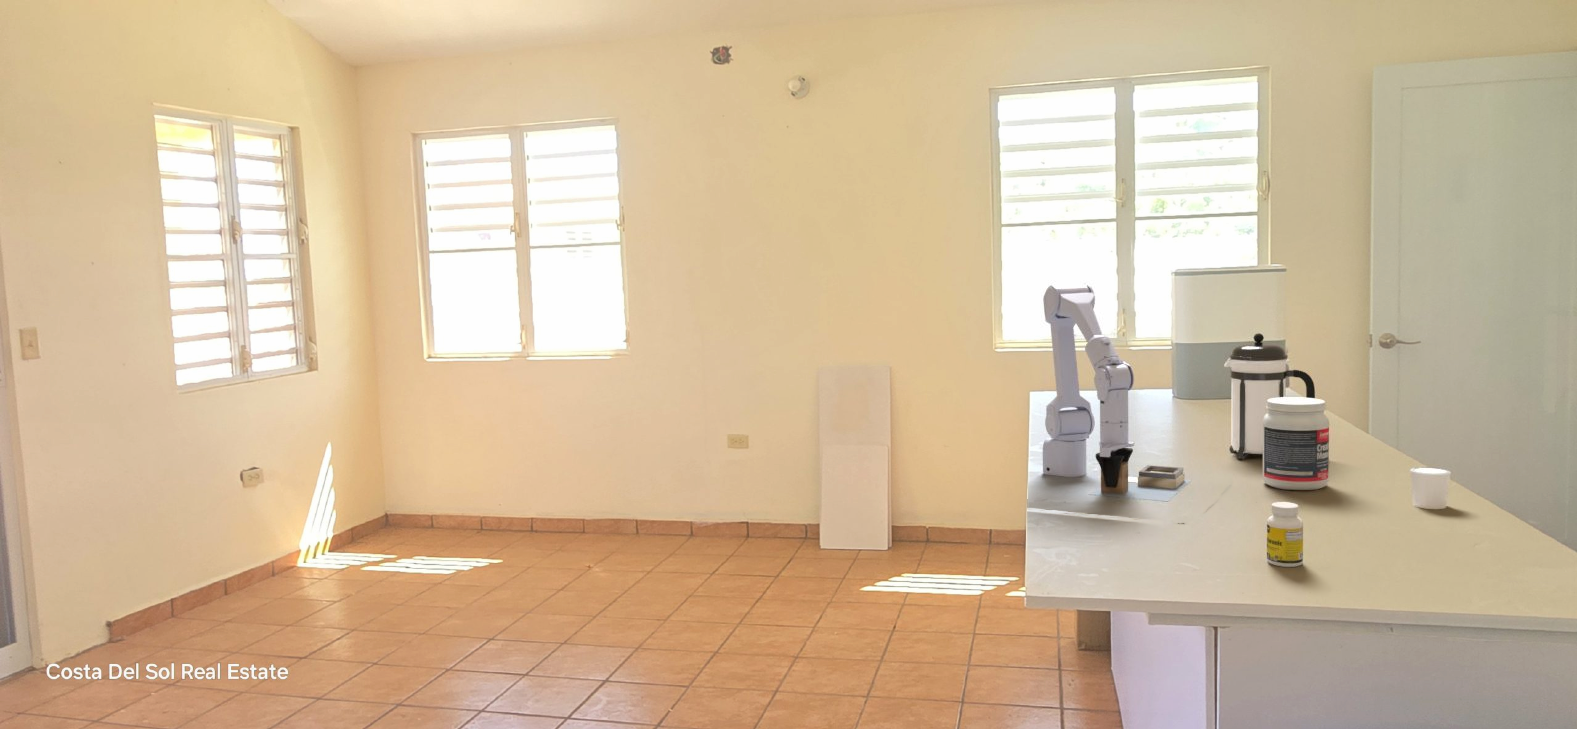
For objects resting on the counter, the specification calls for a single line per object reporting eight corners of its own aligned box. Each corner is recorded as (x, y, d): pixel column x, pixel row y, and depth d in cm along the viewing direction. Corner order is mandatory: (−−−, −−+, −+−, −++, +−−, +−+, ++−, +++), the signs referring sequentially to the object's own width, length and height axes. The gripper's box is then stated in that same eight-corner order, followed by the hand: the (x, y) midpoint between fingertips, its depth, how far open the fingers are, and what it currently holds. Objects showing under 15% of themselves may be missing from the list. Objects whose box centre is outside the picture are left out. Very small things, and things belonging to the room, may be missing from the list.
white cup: (1445, 502, 211) (1446, 467, 210) (1454, 510, 205) (1455, 474, 204) (1405, 500, 213) (1406, 466, 213) (1413, 509, 207) (1414, 473, 206)
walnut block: (1100, 492, 227) (1100, 464, 226) (1107, 488, 231) (1106, 460, 230) (1122, 494, 225) (1122, 466, 224) (1128, 489, 228) (1128, 462, 228)
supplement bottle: (1260, 559, 179) (1260, 501, 178) (1291, 557, 179) (1292, 499, 178) (1277, 568, 174) (1278, 509, 172) (1309, 566, 174) (1310, 507, 173)
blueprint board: (1088, 498, 226) (1088, 480, 225) (1117, 477, 244) (1117, 461, 244) (1167, 505, 217) (1167, 486, 217) (1191, 483, 236) (1191, 466, 235)
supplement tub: (1336, 492, 222) (1337, 404, 220) (1270, 492, 225) (1270, 405, 223) (1318, 479, 235) (1320, 396, 233) (1256, 478, 238) (1256, 396, 236)
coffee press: (1266, 465, 251) (1267, 337, 248) (1211, 455, 265) (1211, 334, 262) (1316, 456, 259) (1317, 332, 256) (1259, 446, 273) (1260, 329, 270)
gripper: (1124, 427, 218) (1124, 493, 219) (1142, 416, 230) (1142, 479, 231) (1089, 425, 222) (1090, 490, 223) (1109, 415, 234) (1109, 476, 235)
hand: (1114, 484), depth 228 cm, fingers closed on walnut block, 4 cm apart
